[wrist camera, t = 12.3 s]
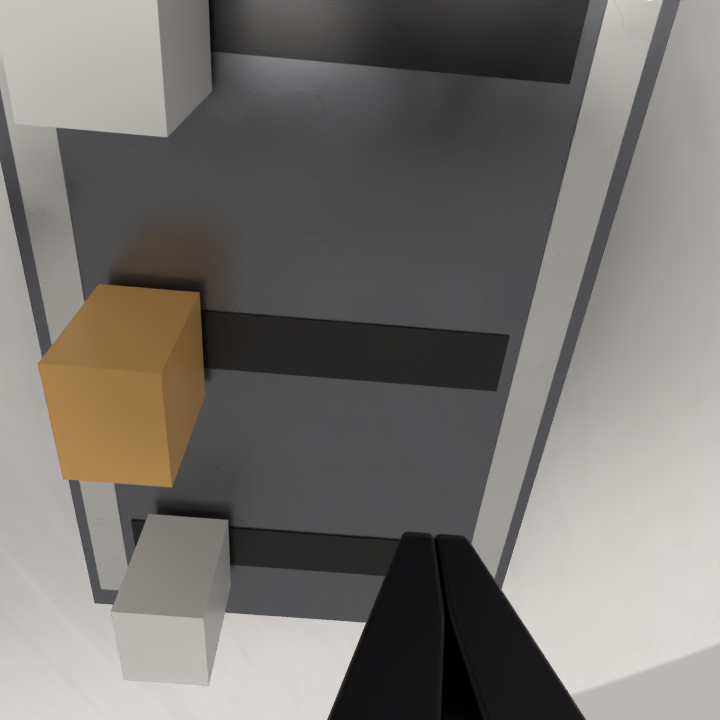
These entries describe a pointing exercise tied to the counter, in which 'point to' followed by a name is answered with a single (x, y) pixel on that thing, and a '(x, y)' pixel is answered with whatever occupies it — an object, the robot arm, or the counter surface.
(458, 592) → the robot arm
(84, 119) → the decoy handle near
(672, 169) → the counter surface
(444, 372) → the panel
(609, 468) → the counter surface
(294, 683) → the counter surface
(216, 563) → the grey small block
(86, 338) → the orange block
